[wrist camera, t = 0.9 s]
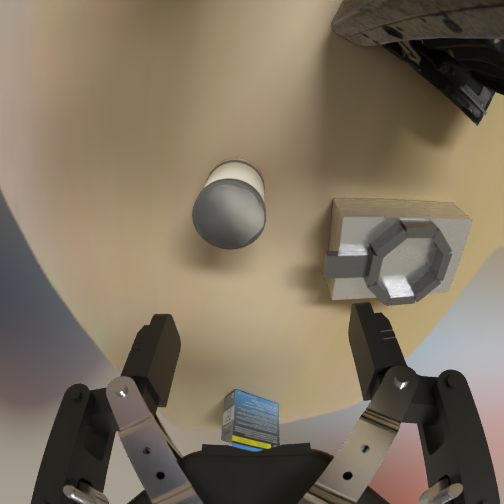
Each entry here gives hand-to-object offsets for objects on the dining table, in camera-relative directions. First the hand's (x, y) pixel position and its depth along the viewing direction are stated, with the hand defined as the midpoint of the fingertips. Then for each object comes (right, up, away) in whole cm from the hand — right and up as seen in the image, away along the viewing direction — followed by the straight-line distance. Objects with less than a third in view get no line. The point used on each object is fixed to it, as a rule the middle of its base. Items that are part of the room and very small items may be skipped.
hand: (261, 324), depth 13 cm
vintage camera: (+15, +22, +6) cm, 27 cm away
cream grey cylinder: (-2, +9, +14) cm, 17 cm away
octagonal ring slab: (+14, +5, +17) cm, 22 cm away
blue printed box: (0, -22, +34) cm, 41 cm away
